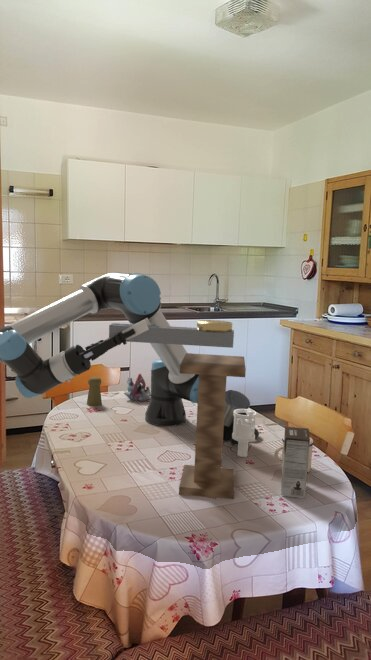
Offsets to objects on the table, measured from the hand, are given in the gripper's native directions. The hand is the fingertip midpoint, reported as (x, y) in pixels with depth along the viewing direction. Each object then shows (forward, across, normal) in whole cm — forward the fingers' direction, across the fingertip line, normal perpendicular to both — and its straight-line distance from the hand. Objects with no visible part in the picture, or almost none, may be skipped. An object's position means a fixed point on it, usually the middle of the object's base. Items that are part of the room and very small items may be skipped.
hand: (147, 323), depth 131 cm
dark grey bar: (+3, 0, -7) cm, 8 cm away
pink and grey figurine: (-35, -76, -30) cm, 89 cm away
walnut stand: (-6, 0, -46) cm, 46 cm away
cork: (-48, -65, -22) cm, 84 cm away
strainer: (+2, -23, -51) cm, 56 cm away
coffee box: (+14, -1, -58) cm, 59 cm away
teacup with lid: (+15, -15, -58) cm, 62 cm away
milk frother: (0, -38, -48) cm, 61 cm away
